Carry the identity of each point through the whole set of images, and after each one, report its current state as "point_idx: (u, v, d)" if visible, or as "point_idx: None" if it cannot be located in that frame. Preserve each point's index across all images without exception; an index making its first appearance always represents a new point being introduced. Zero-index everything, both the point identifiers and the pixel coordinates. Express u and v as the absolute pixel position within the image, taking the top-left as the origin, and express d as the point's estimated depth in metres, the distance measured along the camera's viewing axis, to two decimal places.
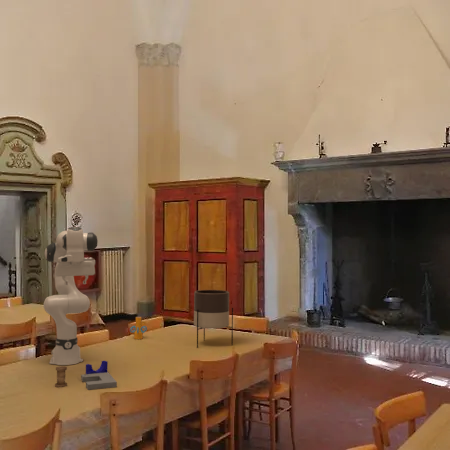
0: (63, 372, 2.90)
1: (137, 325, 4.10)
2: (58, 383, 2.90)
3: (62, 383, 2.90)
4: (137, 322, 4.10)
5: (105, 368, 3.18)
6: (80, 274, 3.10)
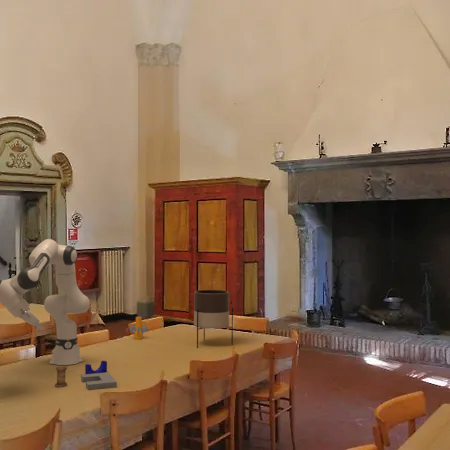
0: (63, 372, 2.90)
1: (137, 325, 4.10)
2: (58, 383, 2.90)
3: (62, 383, 2.90)
4: (137, 322, 4.10)
5: (105, 368, 3.18)
6: None
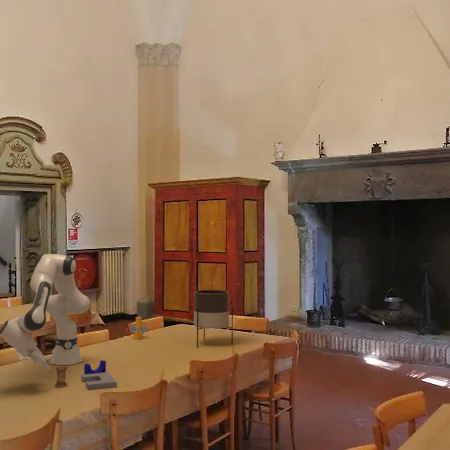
0: (63, 372, 2.90)
1: (137, 325, 4.10)
2: (58, 383, 2.90)
3: (62, 383, 2.90)
4: (137, 322, 4.10)
5: (104, 368, 3.19)
6: None
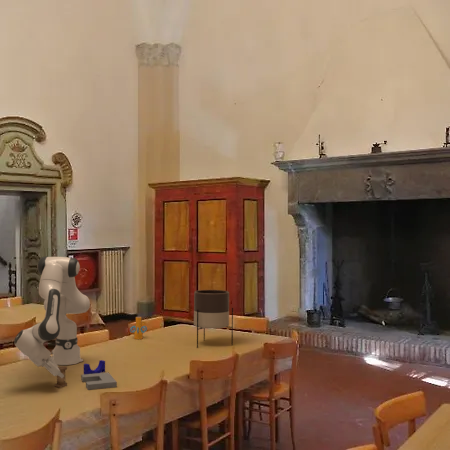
0: (63, 372, 2.90)
1: (137, 325, 4.10)
2: (58, 383, 2.90)
3: (62, 383, 2.90)
4: (137, 322, 4.10)
5: (103, 368, 3.19)
6: None
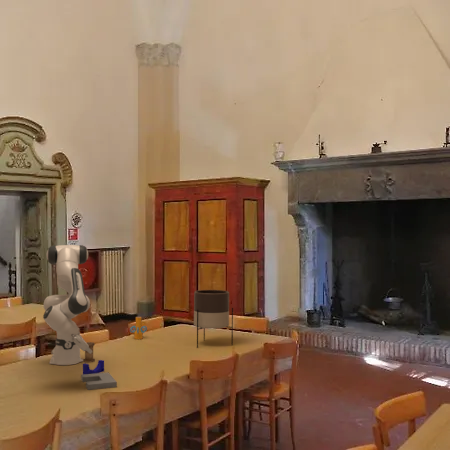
0: (91, 348, 2.94)
1: (137, 325, 4.10)
2: (86, 358, 2.93)
3: (90, 359, 2.93)
4: (137, 322, 4.10)
5: (102, 367, 3.19)
6: None
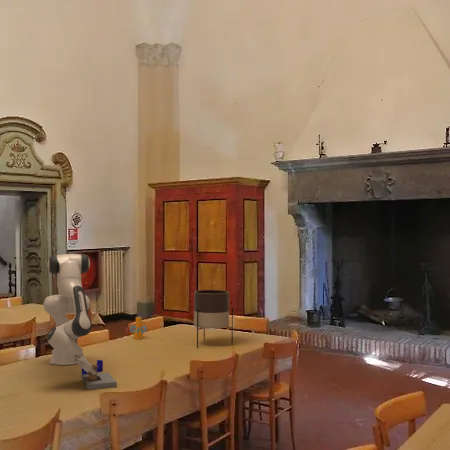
0: None
1: (137, 325, 4.10)
2: None
3: None
4: (137, 322, 4.10)
5: (101, 367, 3.20)
6: None
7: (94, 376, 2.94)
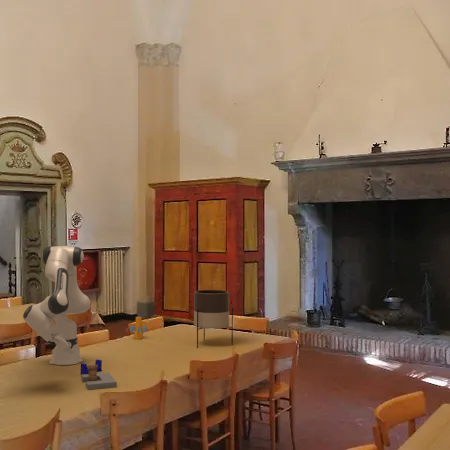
0: (95, 370, 2.94)
1: (137, 325, 4.10)
2: None
3: None
4: (137, 322, 4.10)
5: (99, 367, 3.20)
6: None
7: (94, 376, 2.94)
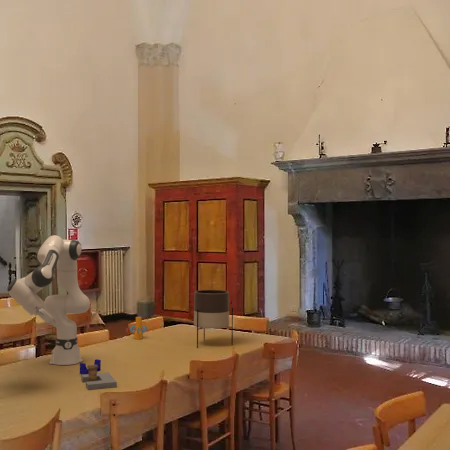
0: (95, 370, 2.94)
1: (137, 325, 4.10)
2: None
3: None
4: (137, 322, 4.10)
5: (98, 367, 3.21)
6: None
7: (94, 376, 2.94)
